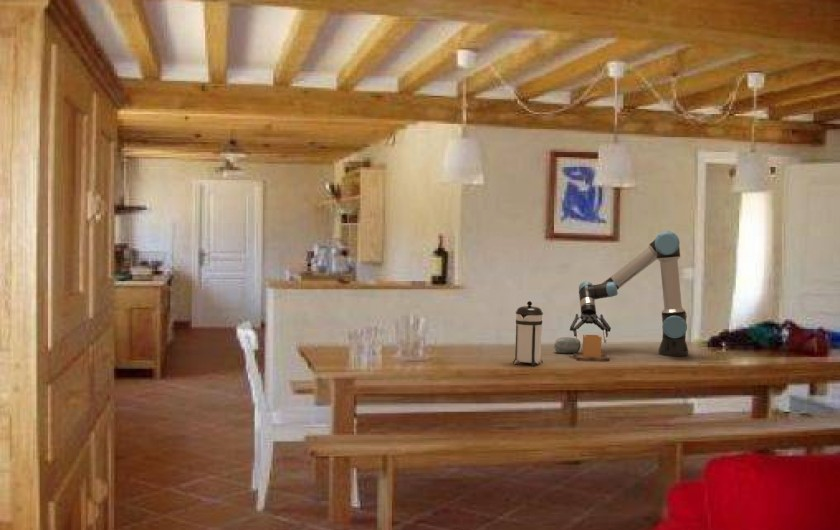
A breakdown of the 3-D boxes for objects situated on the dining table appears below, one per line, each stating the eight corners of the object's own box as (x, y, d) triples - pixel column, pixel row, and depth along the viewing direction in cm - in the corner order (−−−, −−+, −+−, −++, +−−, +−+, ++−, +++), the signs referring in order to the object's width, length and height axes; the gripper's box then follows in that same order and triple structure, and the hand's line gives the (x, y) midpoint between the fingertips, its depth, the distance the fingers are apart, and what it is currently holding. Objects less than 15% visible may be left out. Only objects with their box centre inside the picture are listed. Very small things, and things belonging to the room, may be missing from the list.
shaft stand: (605, 357, 454) (605, 342, 454) (609, 361, 440) (610, 346, 440) (573, 356, 455) (573, 341, 455) (577, 360, 441) (577, 345, 441)
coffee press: (550, 366, 421) (552, 302, 420) (517, 366, 418) (519, 302, 416) (538, 360, 438) (539, 299, 437) (506, 360, 435) (508, 299, 433)
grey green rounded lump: (577, 345, 472) (576, 330, 467) (583, 355, 464) (582, 340, 459) (552, 351, 471) (551, 335, 466) (558, 361, 463) (556, 346, 458)
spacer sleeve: (598, 354, 451) (599, 335, 451) (600, 357, 443) (601, 337, 443) (582, 354, 452) (583, 334, 451) (584, 356, 444) (585, 336, 443)
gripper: (611, 313, 463) (615, 346, 449) (562, 312, 464) (565, 345, 450) (613, 304, 457) (618, 337, 443) (564, 303, 458) (567, 336, 444)
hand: (591, 341), depth 446 cm, fingers open, 13 cm apart
